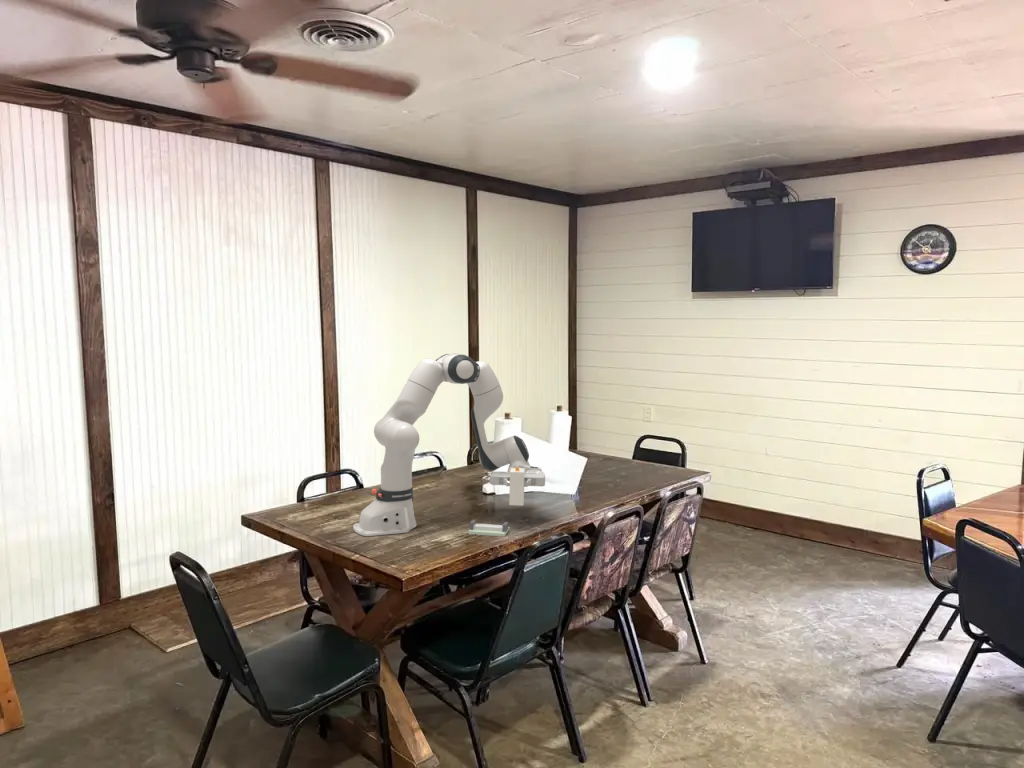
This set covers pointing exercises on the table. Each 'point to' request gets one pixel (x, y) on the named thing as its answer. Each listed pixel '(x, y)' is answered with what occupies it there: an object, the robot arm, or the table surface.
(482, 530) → the rail plate
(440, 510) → the table surface
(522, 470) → the block
